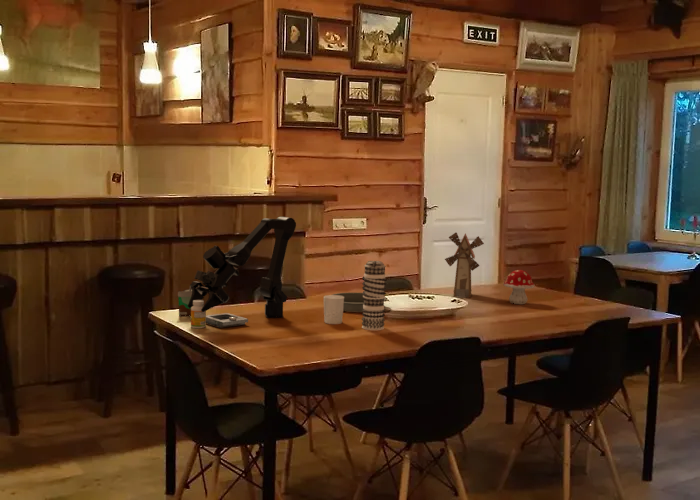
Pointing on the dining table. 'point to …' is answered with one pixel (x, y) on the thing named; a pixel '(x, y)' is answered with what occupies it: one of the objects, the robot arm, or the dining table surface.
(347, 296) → the cake pan
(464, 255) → the windmill
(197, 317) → the supplement bottle
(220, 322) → the grey knobbed square frame
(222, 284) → the robot arm
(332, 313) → the white cup
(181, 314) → the food container
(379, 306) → the decorative candle
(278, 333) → the dining table surface
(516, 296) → the decorative mushroom
